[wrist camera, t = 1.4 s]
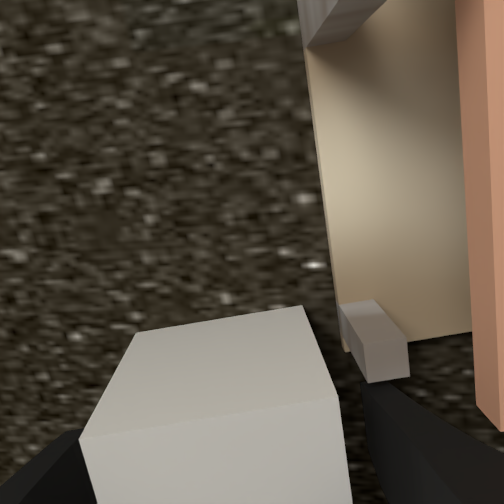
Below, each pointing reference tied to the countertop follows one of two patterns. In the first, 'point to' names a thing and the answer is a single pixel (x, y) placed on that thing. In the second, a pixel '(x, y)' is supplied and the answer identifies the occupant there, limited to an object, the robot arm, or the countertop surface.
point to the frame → (390, 172)
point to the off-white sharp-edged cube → (220, 417)
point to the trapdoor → (484, 189)
